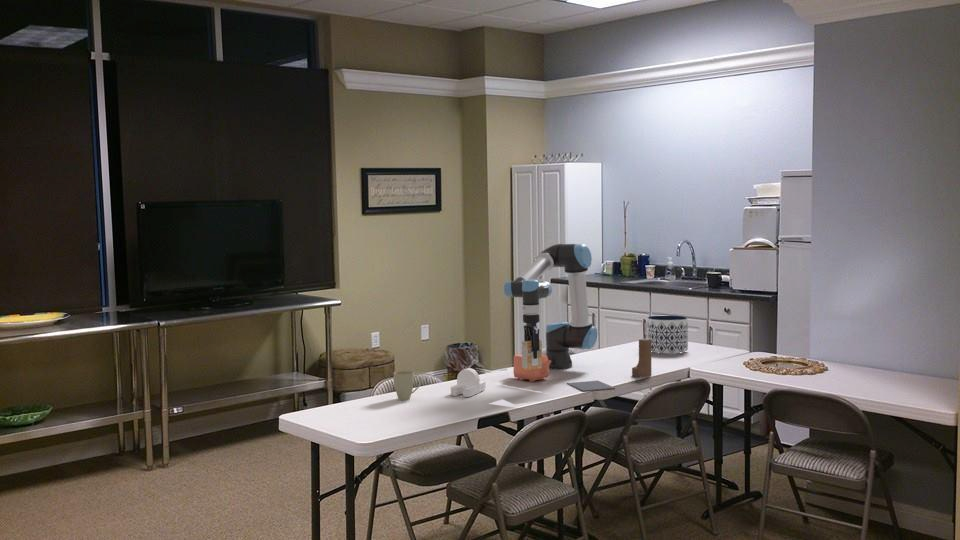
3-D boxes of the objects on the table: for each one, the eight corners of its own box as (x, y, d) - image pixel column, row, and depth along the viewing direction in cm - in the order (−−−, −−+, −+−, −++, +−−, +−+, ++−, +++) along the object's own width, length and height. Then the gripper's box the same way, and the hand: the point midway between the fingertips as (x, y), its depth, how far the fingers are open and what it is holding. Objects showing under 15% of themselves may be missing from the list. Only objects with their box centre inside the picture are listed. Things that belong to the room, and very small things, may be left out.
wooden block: (638, 378, 419) (638, 341, 418) (631, 376, 423) (631, 340, 421) (651, 376, 424) (651, 339, 423) (645, 374, 428) (645, 338, 426)
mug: (408, 402, 373) (407, 375, 372) (389, 400, 378) (389, 373, 377) (422, 398, 382) (422, 371, 381) (404, 395, 387) (404, 369, 386)
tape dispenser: (449, 395, 388) (449, 371, 387) (467, 387, 404) (467, 364, 403) (469, 397, 384) (468, 373, 383) (486, 389, 400) (486, 366, 399)
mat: (566, 384, 407) (566, 383, 407) (597, 381, 412) (597, 380, 412) (583, 391, 390) (583, 390, 390) (615, 388, 395) (615, 387, 395)
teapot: (558, 381, 414) (558, 352, 413) (541, 385, 405) (541, 355, 404) (523, 376, 429) (522, 347, 428) (506, 379, 420) (506, 351, 419)
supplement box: (527, 371, 391) (526, 342, 390) (521, 369, 395) (521, 341, 394) (542, 369, 395) (542, 340, 394) (537, 367, 399) (536, 339, 398)
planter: (647, 356, 481) (647, 320, 480) (646, 349, 503) (646, 315, 502) (689, 356, 477) (689, 320, 476) (686, 350, 499) (686, 315, 498)
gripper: (516, 311, 400) (517, 361, 402) (530, 316, 383) (531, 368, 385) (531, 310, 402) (532, 360, 405) (546, 315, 385) (547, 367, 387)
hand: (532, 364), depth 395 cm, fingers closed on supplement box, 5 cm apart
